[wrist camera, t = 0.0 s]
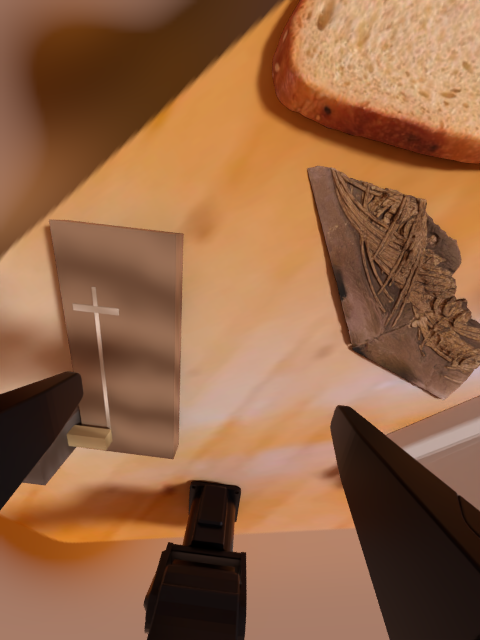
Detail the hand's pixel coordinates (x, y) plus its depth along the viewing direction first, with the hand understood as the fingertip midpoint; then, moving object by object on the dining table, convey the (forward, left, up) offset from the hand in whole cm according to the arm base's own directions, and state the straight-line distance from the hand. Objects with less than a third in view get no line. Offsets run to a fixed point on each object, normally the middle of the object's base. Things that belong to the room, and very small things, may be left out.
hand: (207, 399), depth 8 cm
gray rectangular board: (-7, +10, -15) cm, 19 cm away
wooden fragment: (+2, -14, -15) cm, 21 cm away
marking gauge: (-16, +15, -14) cm, 26 cm away
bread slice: (+17, -12, -15) cm, 26 cm away
